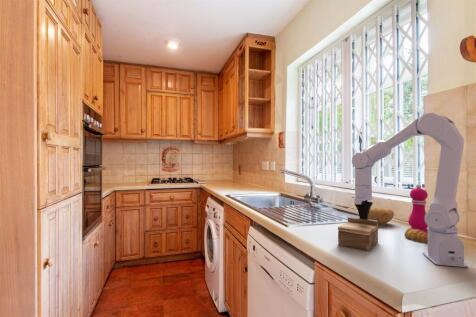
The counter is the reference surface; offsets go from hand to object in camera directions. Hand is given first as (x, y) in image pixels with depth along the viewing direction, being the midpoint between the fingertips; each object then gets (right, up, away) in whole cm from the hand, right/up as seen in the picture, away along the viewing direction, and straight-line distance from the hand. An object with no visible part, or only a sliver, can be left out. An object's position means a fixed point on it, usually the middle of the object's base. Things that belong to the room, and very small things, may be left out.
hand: (363, 221), depth 99 cm
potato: (+18, -7, +23) cm, 31 cm away
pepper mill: (+26, -7, +8) cm, 29 cm away
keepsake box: (-4, -7, -5) cm, 10 cm away
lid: (-4, -2, -5) cm, 7 cm away
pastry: (+21, -7, 0) cm, 22 cm away
